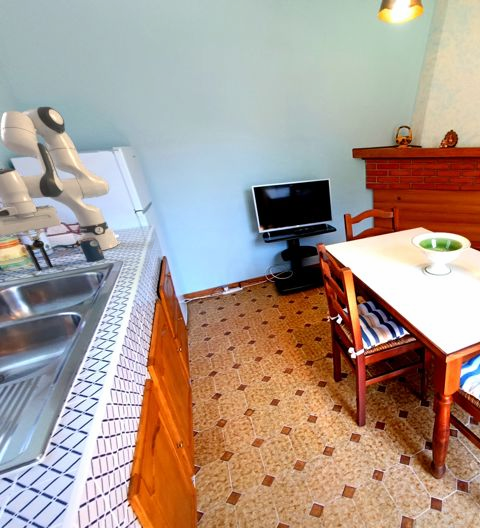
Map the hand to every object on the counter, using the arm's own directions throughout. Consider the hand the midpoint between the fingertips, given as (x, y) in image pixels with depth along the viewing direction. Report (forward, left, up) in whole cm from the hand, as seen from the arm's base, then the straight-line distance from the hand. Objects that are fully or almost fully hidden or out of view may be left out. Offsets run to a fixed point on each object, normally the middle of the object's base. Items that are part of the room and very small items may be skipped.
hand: (36, 240), depth 131 cm
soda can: (0, +17, -17) cm, 24 cm away
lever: (-4, 0, -5) cm, 6 cm away
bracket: (-10, 0, -17) cm, 19 cm away
